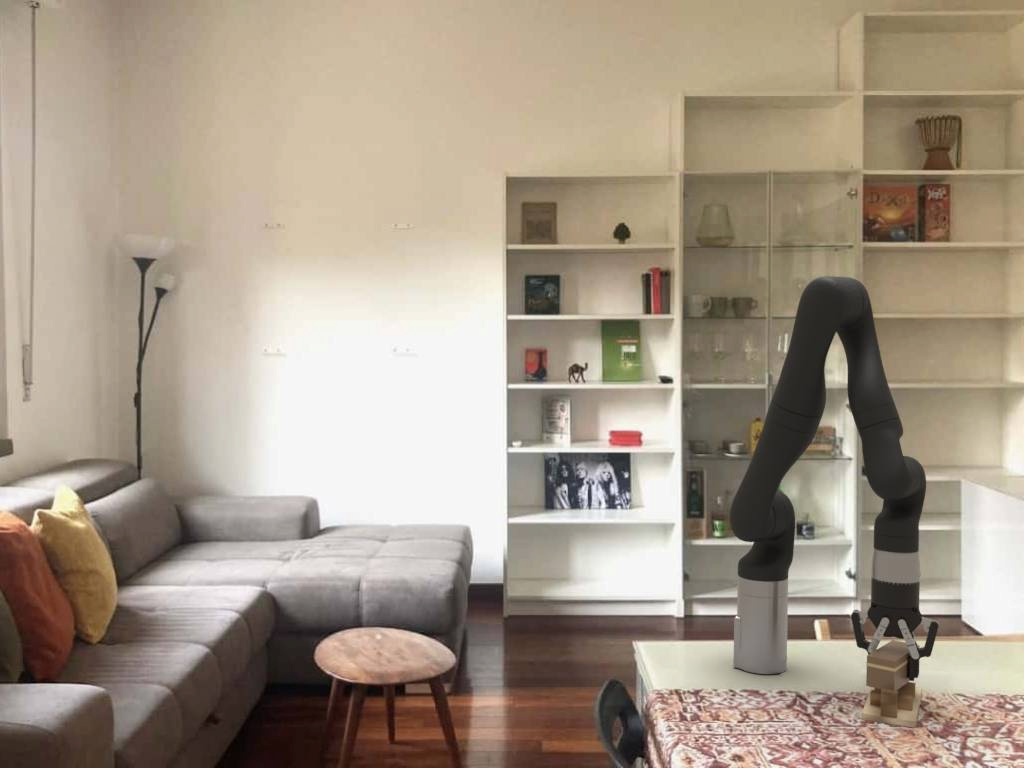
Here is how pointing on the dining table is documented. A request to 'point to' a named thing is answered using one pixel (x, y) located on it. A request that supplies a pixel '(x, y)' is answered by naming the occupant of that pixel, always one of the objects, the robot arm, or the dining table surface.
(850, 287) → the robot arm
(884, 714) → the display cradle
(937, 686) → the dining table surface
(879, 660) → the brown rectangular box
